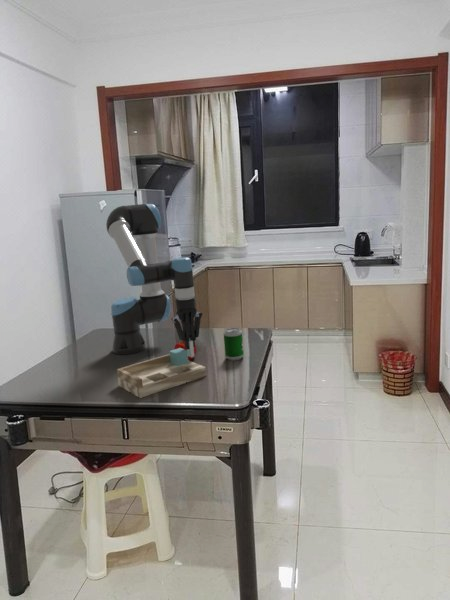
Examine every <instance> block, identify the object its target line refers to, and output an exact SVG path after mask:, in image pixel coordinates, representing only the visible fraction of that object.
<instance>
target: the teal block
mask: <svg viewBox="0 0 450 600" xmlns="http://www.w3.org/2000/svg"><path fill="white" fill-rule="evenodd" d="M169 354H170V361H171V364H174V365H176V366H179V365H182V364H186V363H188V353H187V350H185V349H182V348H178V349H175V350H174V349H172V350H169Z"/></svg>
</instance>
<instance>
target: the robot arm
mask: <svg viewBox="0 0 450 600" xmlns="http://www.w3.org/2000/svg"><path fill="white" fill-rule="evenodd" d="M161 218H162V217H161V214H160V211H159V209H158V208H157V206H156V205H154V204H153V203H141V204H140V203H139V204H129V205H121V206H117V207H116V208H114V209H113V210H112V211H111V212H110V213H109V214H108V217H107V219H106V224H105V225H106V226H105V227H106V231H107V233H108V235H109V237H110V238H111V239H113V240H114V242H115V244H116V245H117V248H118V250H119V252H120V254H121V256H122V257H123V259H124V261H125V263H126V266H127V269H126V278H127V282H128V284H129V285H130V286H131V287H134V286H135V287H138V286H139V287H140V286H141V289H142V291H141V293H140V294H139V299H137V297H133V296H132V297H130V296H129V297H124V298H121V299H118V300H116V301H114V302H112V304H111V306H110V307H111V313H110V314H111V319H112V326H113V332H114V336H113V340H112V345H111V347H112V348H111V349H112V353H113V354H116V355H132V354H136V353H139V352H143V351H144V350H145V349H146V348H147V345H146V344H147V343H146V341H145V337H144V336H143V334H142V332H141V328H140V326H143V325H147V324H153V323H160V322H163V321H167V320H168V319H169V317H170V315H171V310H172V305H171V301H170V297H169V296H168V295H167V294H166V293H165V291H164V290H163V289H162V287H161V286H162V285H161V283H165V282H171V281H173V288H174V296H175V306H176V313H175V314H176V315H175V316H174V317H171V321H172V323H173V324H174V327H175V329H176V333H177V335H178V338H179V341H184V342H185V348H186V349H187V353H188V356H189V357H195V356H194V347H195V346H196V343H195V342H196V340H197V338H199V336H200V335H199V334H200V327H201V318H202V316H203V313H202V312H200V311H198V310H197V308H196V304H197V303H196V298H195V296H196V294H195V285H194V275H193V268H194V266H193V264H192V259H191V258H190V257H187V256H186V257H185V256H184V257H176V258H173V259H171V260H166V261H164V262H159V260H158V251H157V250H158V249H157V243H156V242H157V241H156V237H157V235H158V233H159V230H160V229H161V228H162V219H161ZM180 322H181V323H180Z"/></svg>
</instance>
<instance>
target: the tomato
mask: <svg viewBox="0 0 450 600" xmlns="http://www.w3.org/2000/svg"><path fill="white" fill-rule="evenodd" d="M178 348H182V349H185V350H187V349H186V348H185V342H184V341H182V340H180V342H177V343H176V344H175V345H174V349H173V350H175V349H178ZM196 354H197V346H196V345H195V347H194V357H195V356H196ZM194 357H189V356H188V360H189V361H192V360H193V359H194Z"/></svg>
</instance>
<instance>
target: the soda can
mask: <svg viewBox="0 0 450 600" xmlns="http://www.w3.org/2000/svg"><path fill="white" fill-rule="evenodd" d="M223 341H224V353H225V358H227V359H228V361H239V360H241V359H242V358H243V357H244V341H243V331H242V330H241V329H240V328H237V327H231V328H227V329H225V330H224V332H223Z"/></svg>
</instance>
